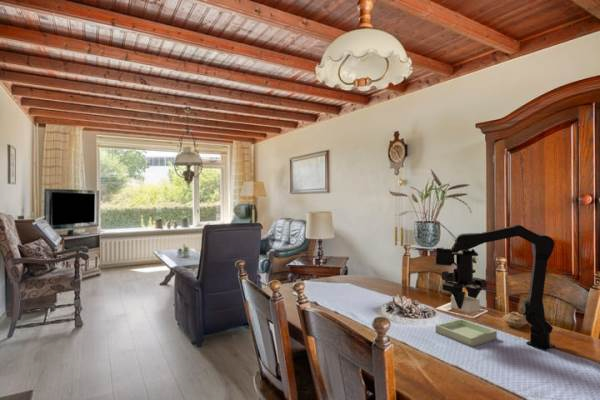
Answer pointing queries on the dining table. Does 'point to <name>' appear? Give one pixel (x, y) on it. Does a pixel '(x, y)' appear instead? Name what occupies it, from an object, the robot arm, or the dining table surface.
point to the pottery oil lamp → (515, 319)
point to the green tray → (466, 332)
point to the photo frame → (447, 309)
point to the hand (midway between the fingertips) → (465, 307)
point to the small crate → (467, 305)
